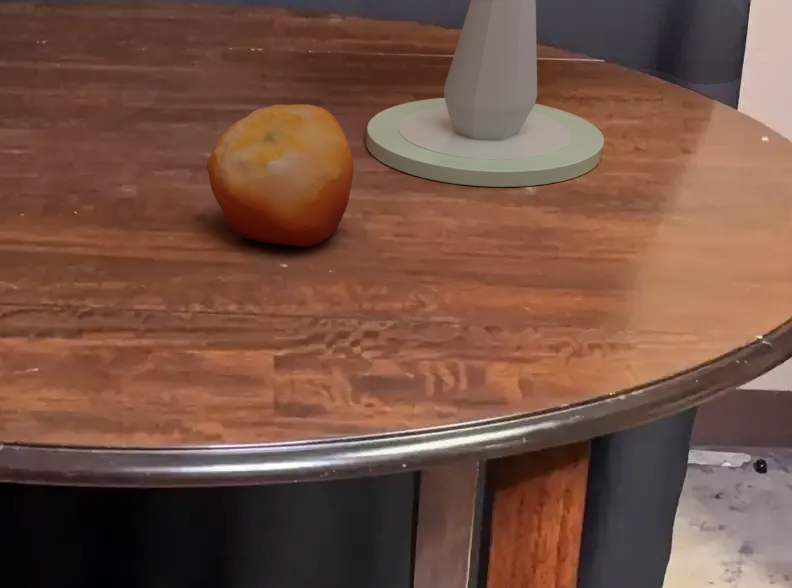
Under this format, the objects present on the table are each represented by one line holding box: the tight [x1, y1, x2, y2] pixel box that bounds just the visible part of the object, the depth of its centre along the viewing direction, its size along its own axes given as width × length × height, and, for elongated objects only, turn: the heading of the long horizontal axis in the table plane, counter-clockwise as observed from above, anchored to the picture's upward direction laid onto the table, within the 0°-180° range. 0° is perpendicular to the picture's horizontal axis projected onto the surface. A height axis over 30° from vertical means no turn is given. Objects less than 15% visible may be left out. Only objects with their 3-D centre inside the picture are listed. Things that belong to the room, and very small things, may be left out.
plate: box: [365, 97, 605, 188], centre depth 98 cm, size 15×15×1 cm
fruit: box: [206, 103, 355, 248], centre depth 85 cm, size 8×8×8 cm
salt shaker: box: [443, 0, 538, 140], centre depth 94 cm, size 6×6×13 cm
